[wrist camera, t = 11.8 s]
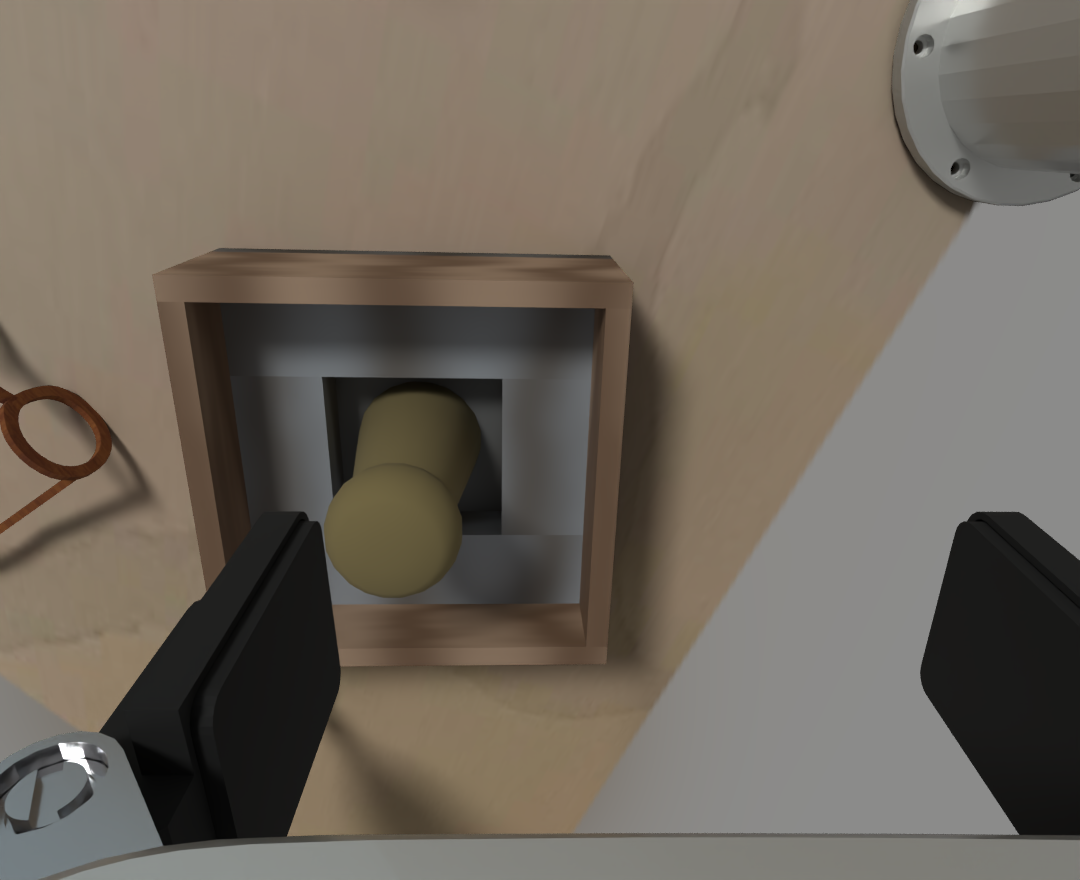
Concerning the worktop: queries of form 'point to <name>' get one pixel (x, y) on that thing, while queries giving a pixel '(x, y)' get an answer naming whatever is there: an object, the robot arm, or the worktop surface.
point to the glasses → (27, 454)
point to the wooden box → (395, 358)
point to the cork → (404, 491)
